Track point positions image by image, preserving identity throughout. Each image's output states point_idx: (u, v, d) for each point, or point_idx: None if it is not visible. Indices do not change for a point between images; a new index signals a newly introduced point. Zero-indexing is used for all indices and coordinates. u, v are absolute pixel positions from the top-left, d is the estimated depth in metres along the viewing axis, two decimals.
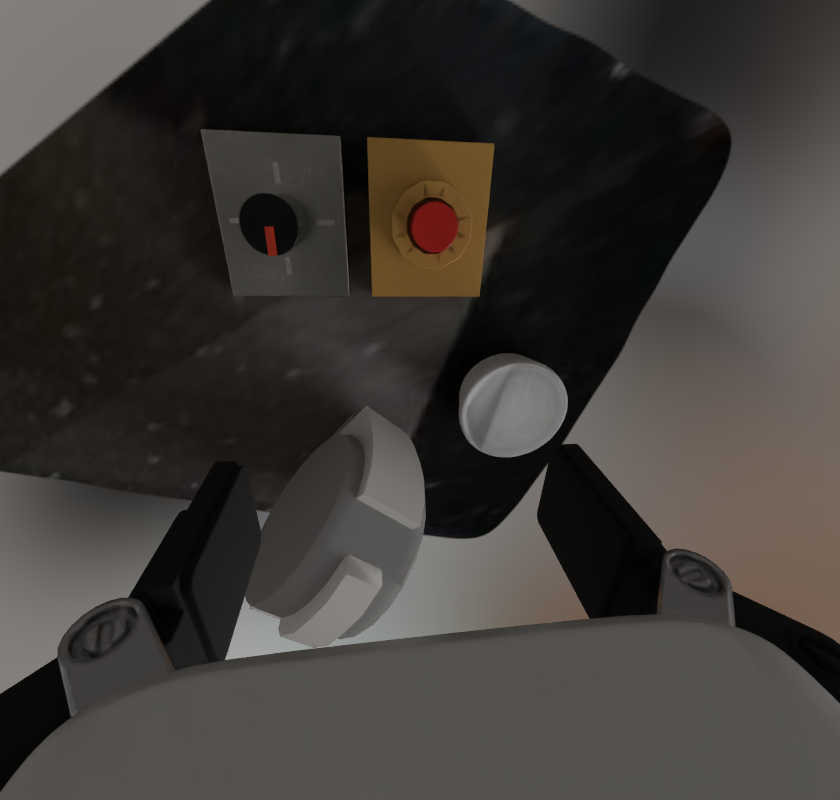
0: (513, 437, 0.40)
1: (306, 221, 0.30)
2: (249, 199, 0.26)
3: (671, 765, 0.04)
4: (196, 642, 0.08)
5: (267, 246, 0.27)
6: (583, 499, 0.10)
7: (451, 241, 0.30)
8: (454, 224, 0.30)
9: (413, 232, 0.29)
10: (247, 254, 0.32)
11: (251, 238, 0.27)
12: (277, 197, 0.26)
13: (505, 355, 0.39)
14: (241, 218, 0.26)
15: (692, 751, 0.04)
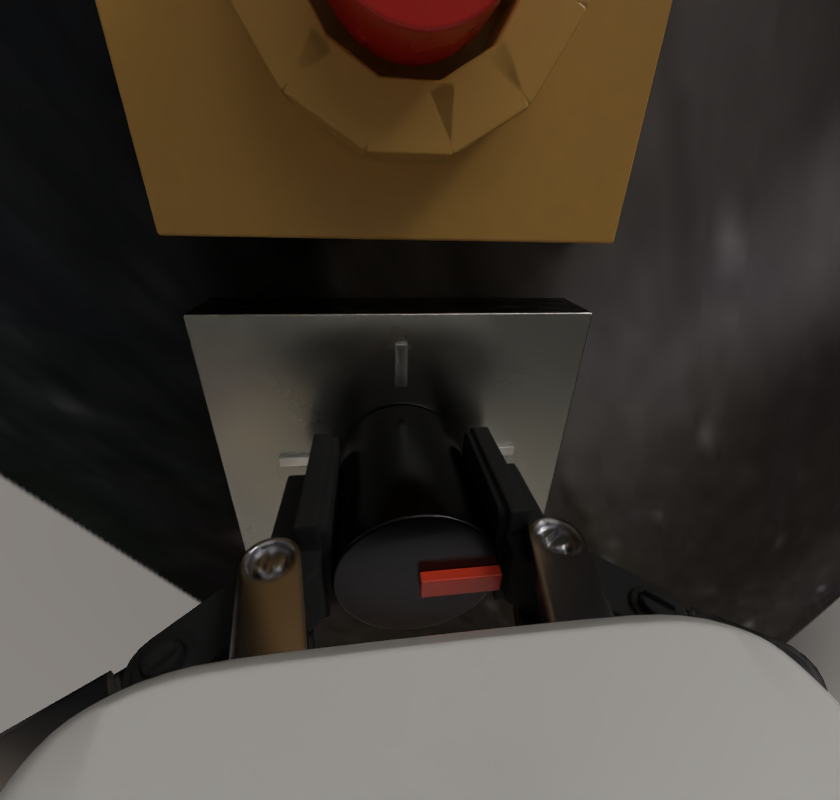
0: None
1: (399, 419, 0.12)
2: (352, 613, 0.09)
3: (671, 765, 0.04)
4: (324, 580, 0.09)
5: (475, 591, 0.09)
6: (480, 475, 0.11)
7: None
8: None
9: (445, 22, 0.06)
10: None
11: (449, 610, 0.10)
12: (339, 560, 0.08)
13: None
14: (400, 626, 0.10)
15: (692, 751, 0.04)
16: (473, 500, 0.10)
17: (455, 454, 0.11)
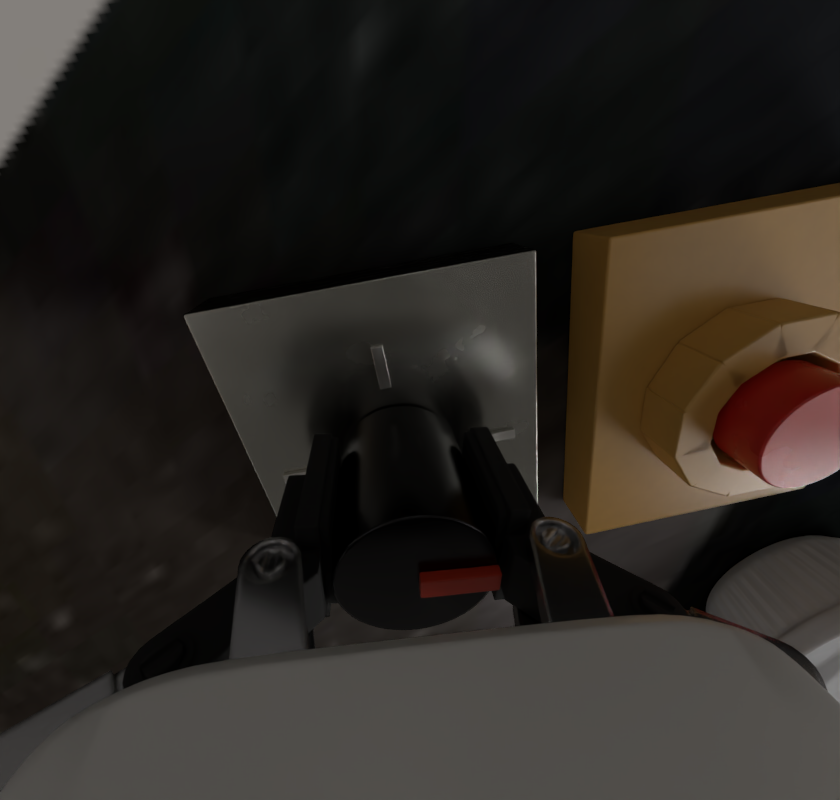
0: None
1: (399, 419, 0.12)
2: (352, 614, 0.09)
3: (671, 765, 0.04)
4: (324, 580, 0.09)
5: (475, 591, 0.09)
6: (480, 475, 0.11)
7: None
8: None
9: (761, 461, 0.11)
10: None
11: (450, 610, 0.10)
12: (339, 561, 0.08)
13: (822, 557, 0.20)
14: (400, 626, 0.10)
15: (692, 751, 0.04)
16: (473, 500, 0.10)
17: (455, 454, 0.11)
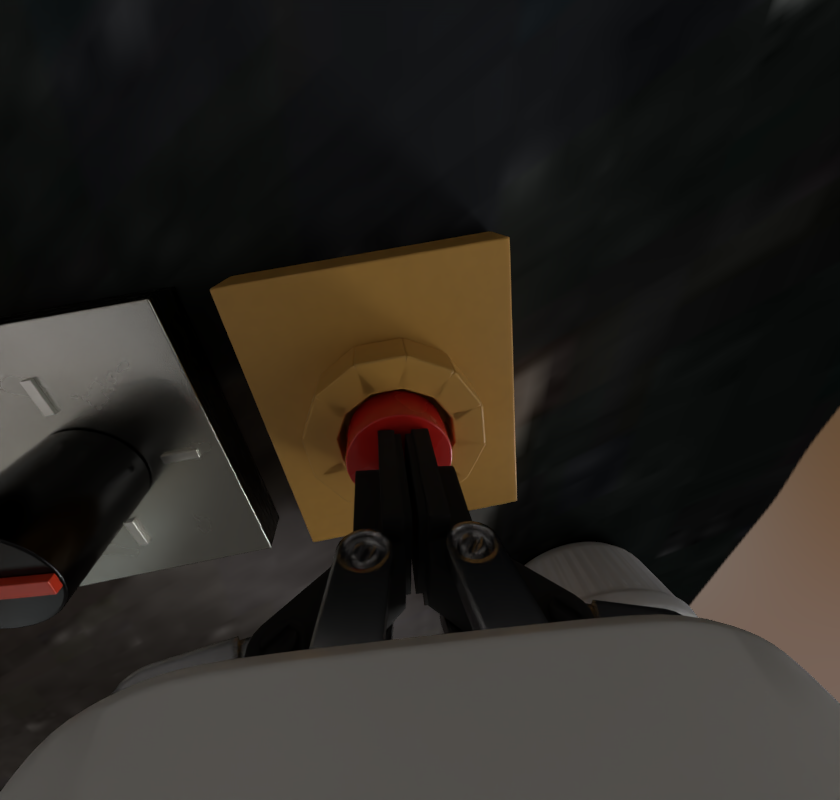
0: None
1: (50, 444, 0.13)
2: None
3: (671, 765, 0.04)
4: None
5: (34, 595, 0.11)
6: (411, 478, 0.10)
7: None
8: (443, 446, 0.13)
9: (353, 479, 0.13)
10: None
11: (38, 611, 0.11)
12: None
13: (576, 562, 0.22)
14: None
15: (692, 751, 0.04)
16: (51, 517, 0.11)
17: (86, 475, 0.13)
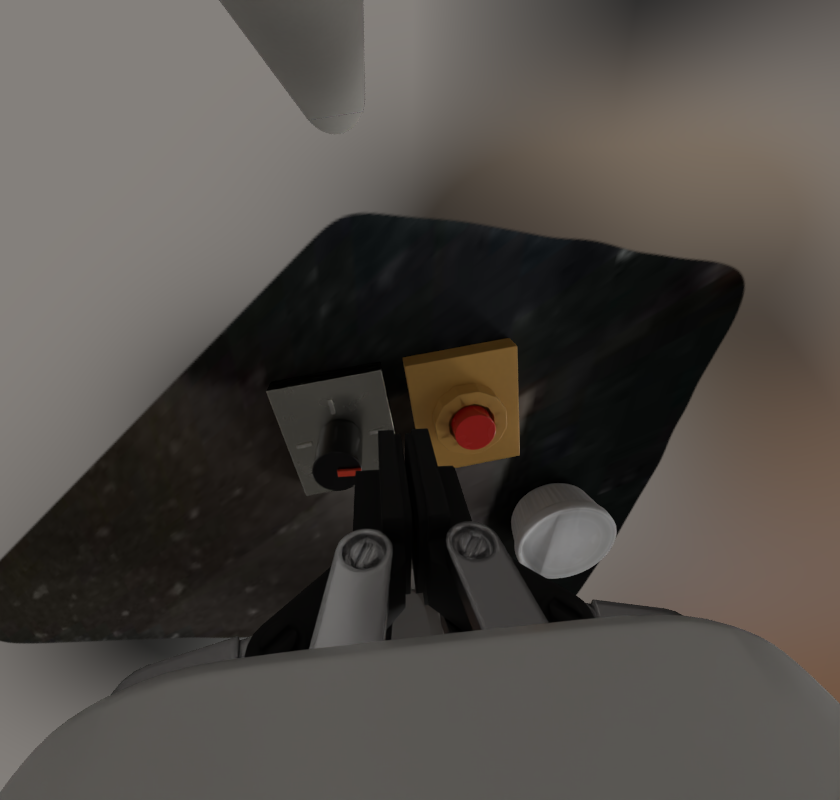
0: (569, 562, 0.43)
1: (337, 425, 0.34)
2: (318, 483, 0.31)
3: (671, 765, 0.04)
4: None
5: (354, 475, 0.31)
6: (411, 478, 0.10)
7: (491, 439, 0.34)
8: (492, 427, 0.33)
9: (457, 440, 0.33)
10: None
11: (349, 483, 0.32)
12: (314, 465, 0.31)
13: (550, 491, 0.42)
14: (334, 489, 0.32)
15: (692, 751, 0.04)
16: (355, 449, 0.32)
17: (354, 436, 0.33)
